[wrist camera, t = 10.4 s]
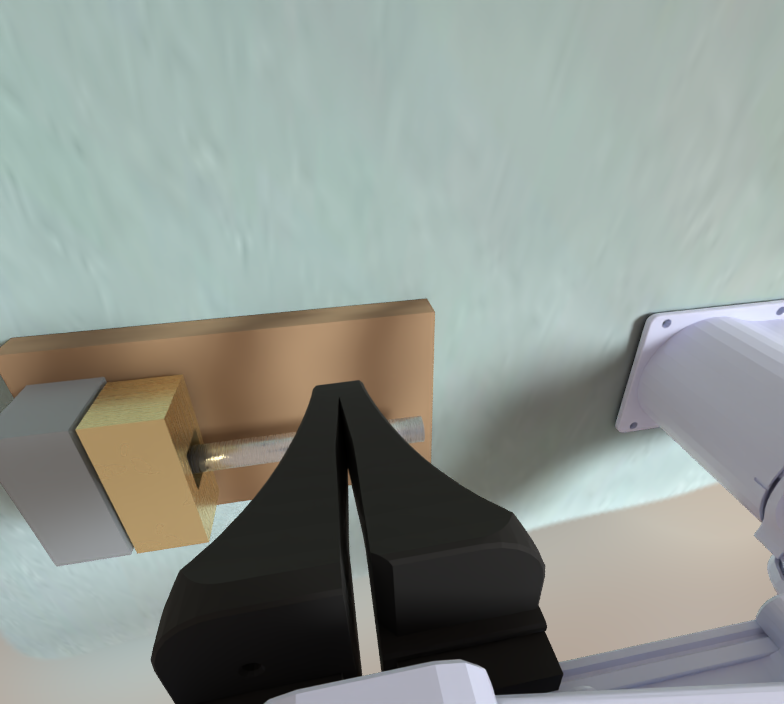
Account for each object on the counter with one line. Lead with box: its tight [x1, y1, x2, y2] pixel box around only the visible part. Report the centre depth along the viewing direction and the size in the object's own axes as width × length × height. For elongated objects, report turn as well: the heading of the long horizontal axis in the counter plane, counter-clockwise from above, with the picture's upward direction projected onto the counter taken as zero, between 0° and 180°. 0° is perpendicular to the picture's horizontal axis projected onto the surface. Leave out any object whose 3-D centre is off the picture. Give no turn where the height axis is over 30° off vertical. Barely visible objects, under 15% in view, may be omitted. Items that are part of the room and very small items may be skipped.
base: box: [0, 299, 435, 566], centre depth 20 cm, size 18×10×5 cm, turn 92°
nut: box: [75, 374, 220, 553], centre depth 19 cm, size 3×7×3 cm, turn 1°
